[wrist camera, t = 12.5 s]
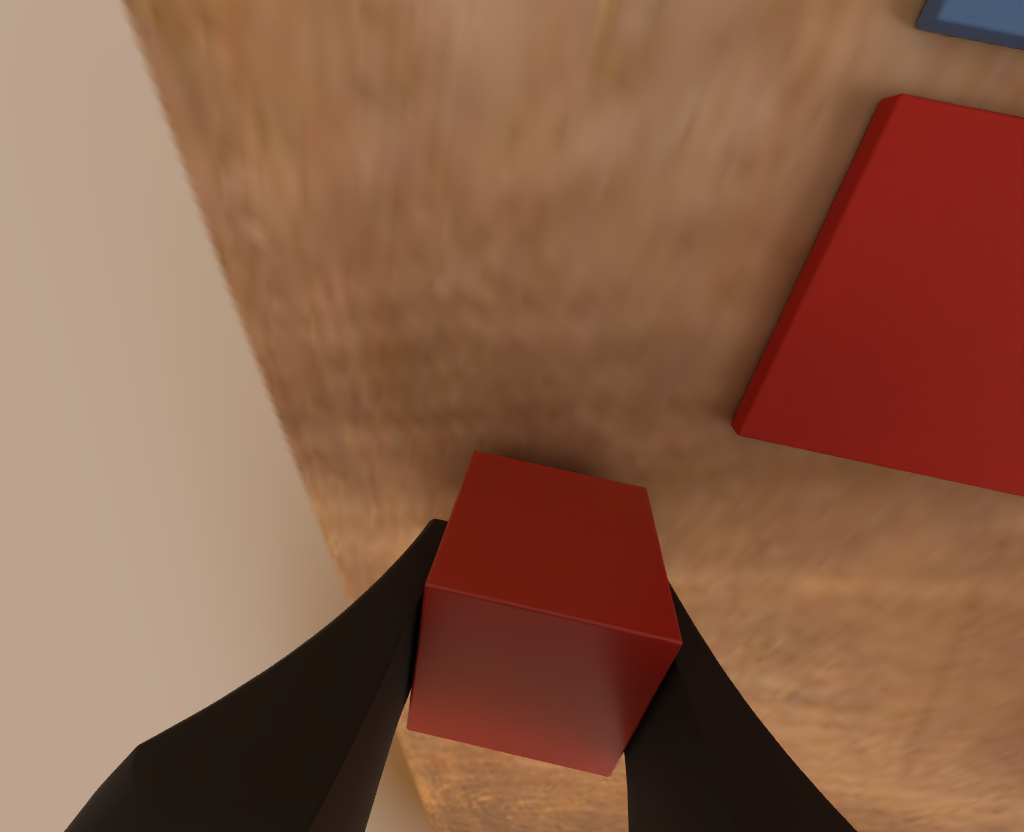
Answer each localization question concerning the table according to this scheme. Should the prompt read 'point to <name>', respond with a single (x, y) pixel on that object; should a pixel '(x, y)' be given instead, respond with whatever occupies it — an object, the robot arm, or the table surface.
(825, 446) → the red mat
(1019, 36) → the blue mat
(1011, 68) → the table surface
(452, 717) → the red block
